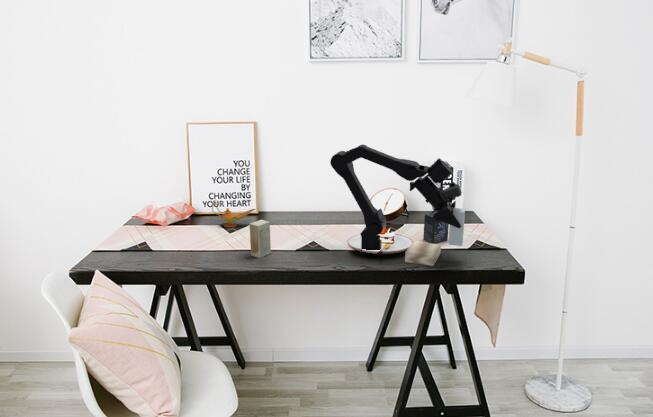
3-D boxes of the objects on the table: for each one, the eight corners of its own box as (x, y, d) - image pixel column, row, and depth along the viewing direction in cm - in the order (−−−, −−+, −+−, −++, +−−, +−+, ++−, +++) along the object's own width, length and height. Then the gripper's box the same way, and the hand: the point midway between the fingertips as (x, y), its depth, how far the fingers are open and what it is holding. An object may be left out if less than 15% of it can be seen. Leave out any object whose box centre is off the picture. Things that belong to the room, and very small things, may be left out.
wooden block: (404, 262, 215) (405, 252, 214) (412, 251, 226) (413, 241, 225) (433, 266, 212) (434, 256, 211) (440, 255, 223) (440, 244, 222)
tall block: (448, 244, 213) (450, 211, 209) (449, 240, 217) (451, 207, 213) (461, 246, 211) (464, 212, 208) (462, 241, 216) (465, 208, 212)
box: (433, 244, 232) (434, 217, 229) (422, 240, 237) (424, 213, 234) (448, 240, 237) (449, 214, 234) (437, 236, 241) (439, 210, 238)
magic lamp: (256, 227, 251) (255, 201, 247) (211, 228, 249) (210, 202, 246) (257, 222, 257) (256, 196, 254) (213, 223, 256) (212, 197, 253)
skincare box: (262, 250, 225) (261, 218, 221) (271, 253, 222) (270, 221, 219) (250, 255, 220) (248, 223, 217) (258, 258, 218) (257, 225, 214)
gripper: (445, 183, 200) (477, 219, 200) (451, 170, 217) (480, 203, 217) (419, 204, 204) (451, 239, 204) (427, 190, 221) (456, 222, 222)
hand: (461, 225), depth 212 cm, fingers closed on tall block, 4 cm apart
